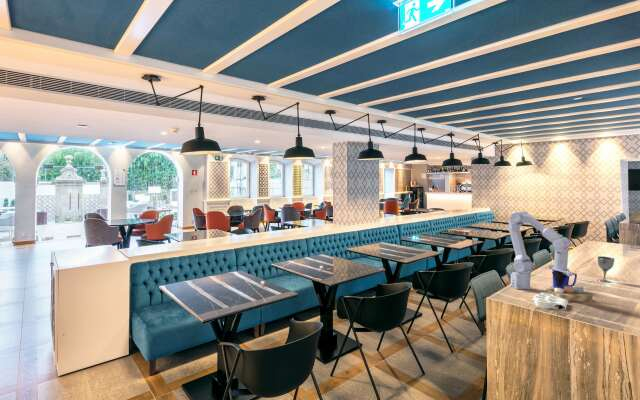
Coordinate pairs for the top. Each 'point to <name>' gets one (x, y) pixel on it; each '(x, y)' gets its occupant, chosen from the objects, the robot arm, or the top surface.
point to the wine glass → (605, 266)
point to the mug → (564, 281)
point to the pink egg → (568, 289)
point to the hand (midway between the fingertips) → (559, 285)
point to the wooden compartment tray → (571, 296)
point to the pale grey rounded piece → (558, 290)
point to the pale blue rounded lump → (578, 289)
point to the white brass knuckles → (549, 301)
